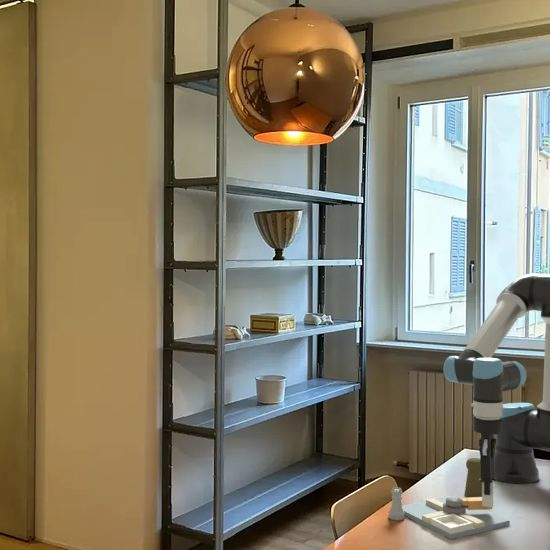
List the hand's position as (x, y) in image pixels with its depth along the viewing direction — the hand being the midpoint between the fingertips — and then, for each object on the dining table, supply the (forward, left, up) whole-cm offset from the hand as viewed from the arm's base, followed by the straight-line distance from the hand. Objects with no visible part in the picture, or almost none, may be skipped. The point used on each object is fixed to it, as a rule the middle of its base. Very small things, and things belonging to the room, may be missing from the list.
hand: (487, 505), depth 192 cm
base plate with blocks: (+7, -7, -4) cm, 10 cm away
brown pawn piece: (-11, -17, -5) cm, 21 cm away
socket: (+13, 0, -3) cm, 13 cm away
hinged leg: (+3, -4, -1) cm, 5 cm away
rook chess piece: (+20, -14, -5) cm, 24 cm away
